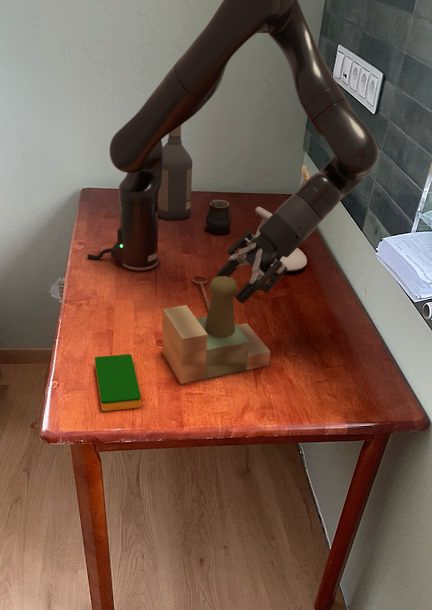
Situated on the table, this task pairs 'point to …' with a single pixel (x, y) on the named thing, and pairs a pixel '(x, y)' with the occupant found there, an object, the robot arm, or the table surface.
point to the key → (203, 289)
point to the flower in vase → (297, 257)
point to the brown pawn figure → (221, 307)
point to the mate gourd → (218, 216)
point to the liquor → (175, 179)
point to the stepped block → (207, 347)
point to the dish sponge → (117, 382)
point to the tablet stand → (264, 215)
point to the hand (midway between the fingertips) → (228, 289)
